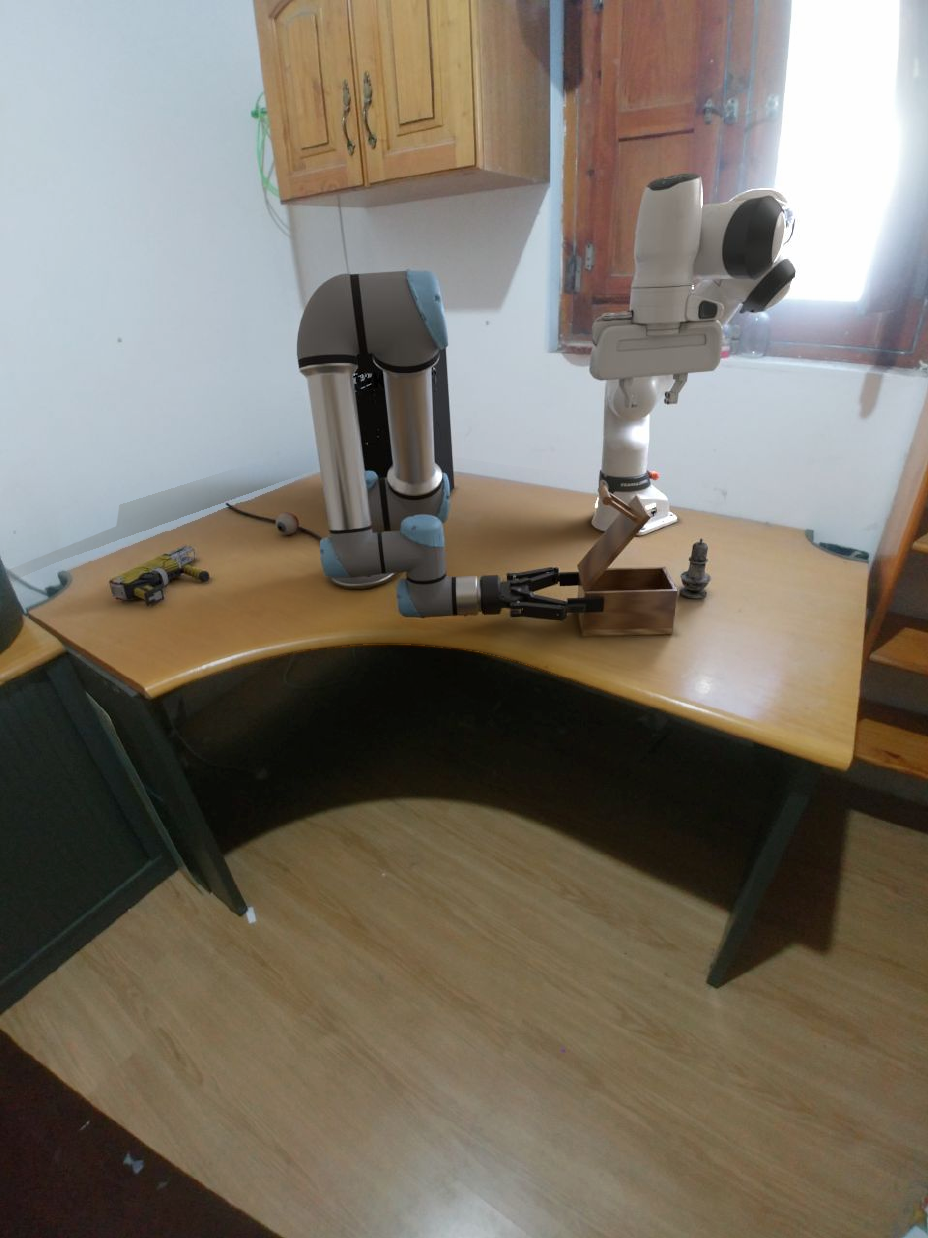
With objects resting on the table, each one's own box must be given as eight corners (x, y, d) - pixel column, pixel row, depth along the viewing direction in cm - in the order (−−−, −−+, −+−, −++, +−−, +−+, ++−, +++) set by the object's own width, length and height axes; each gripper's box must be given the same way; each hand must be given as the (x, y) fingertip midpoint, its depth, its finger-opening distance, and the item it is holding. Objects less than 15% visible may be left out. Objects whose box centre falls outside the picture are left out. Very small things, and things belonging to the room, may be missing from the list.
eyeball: (273, 537, 164) (268, 516, 161) (287, 528, 169) (282, 508, 166) (291, 539, 161) (286, 518, 158) (305, 530, 166) (301, 510, 163)
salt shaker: (710, 599, 121) (719, 544, 115) (679, 598, 123) (687, 543, 117) (706, 586, 126) (715, 532, 120) (676, 585, 128) (684, 532, 122)
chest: (660, 607, 120) (665, 566, 115) (672, 634, 111) (678, 590, 107) (577, 609, 121) (578, 568, 117) (582, 635, 113) (584, 593, 108)
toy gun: (232, 553, 147) (182, 542, 151) (158, 593, 127) (102, 580, 131) (234, 570, 150) (185, 559, 154) (162, 613, 130) (107, 599, 134)
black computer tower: (420, 531, 161) (403, 349, 139) (350, 528, 166) (322, 351, 143) (454, 487, 193) (445, 332, 170) (394, 486, 197) (377, 335, 175)
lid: (640, 497, 109) (605, 473, 107) (651, 517, 100) (614, 491, 98) (580, 567, 116) (547, 546, 115) (586, 591, 108) (550, 569, 106)
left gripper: (479, 586, 126) (586, 581, 125) (481, 644, 106) (608, 639, 105) (478, 553, 122) (588, 548, 121) (479, 606, 102) (611, 601, 102)
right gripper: (601, 314, 85) (595, 415, 92) (734, 304, 88) (719, 403, 95) (585, 312, 91) (581, 407, 98) (711, 303, 93) (699, 396, 100)
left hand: (597, 590), depth 113 cm, fingers closed on chest, 10 cm apart
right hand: (650, 405), depth 96 cm, fingers open, 5 cm apart
